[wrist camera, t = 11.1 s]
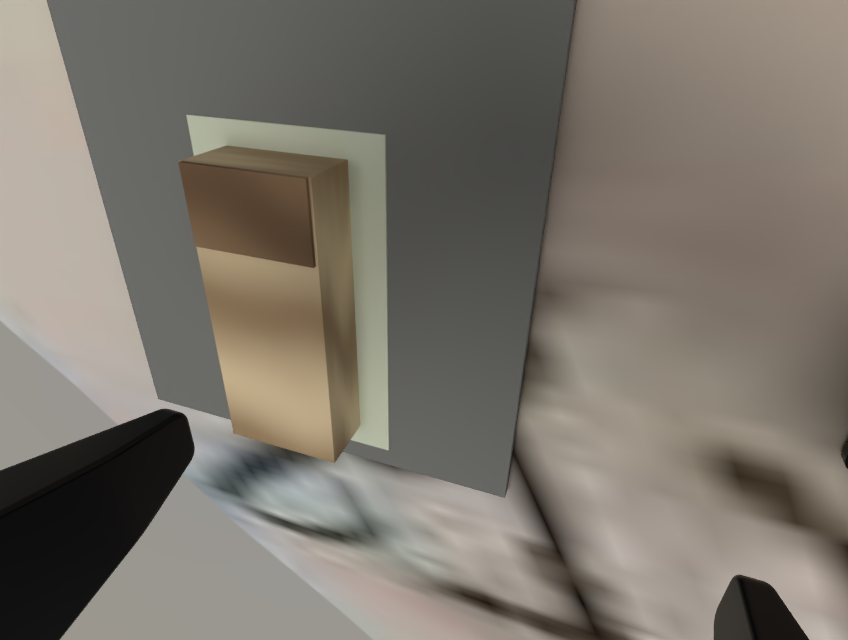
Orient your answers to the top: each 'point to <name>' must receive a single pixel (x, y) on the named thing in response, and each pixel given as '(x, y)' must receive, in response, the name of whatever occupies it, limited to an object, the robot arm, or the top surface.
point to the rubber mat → (368, 187)
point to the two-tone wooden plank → (279, 292)
